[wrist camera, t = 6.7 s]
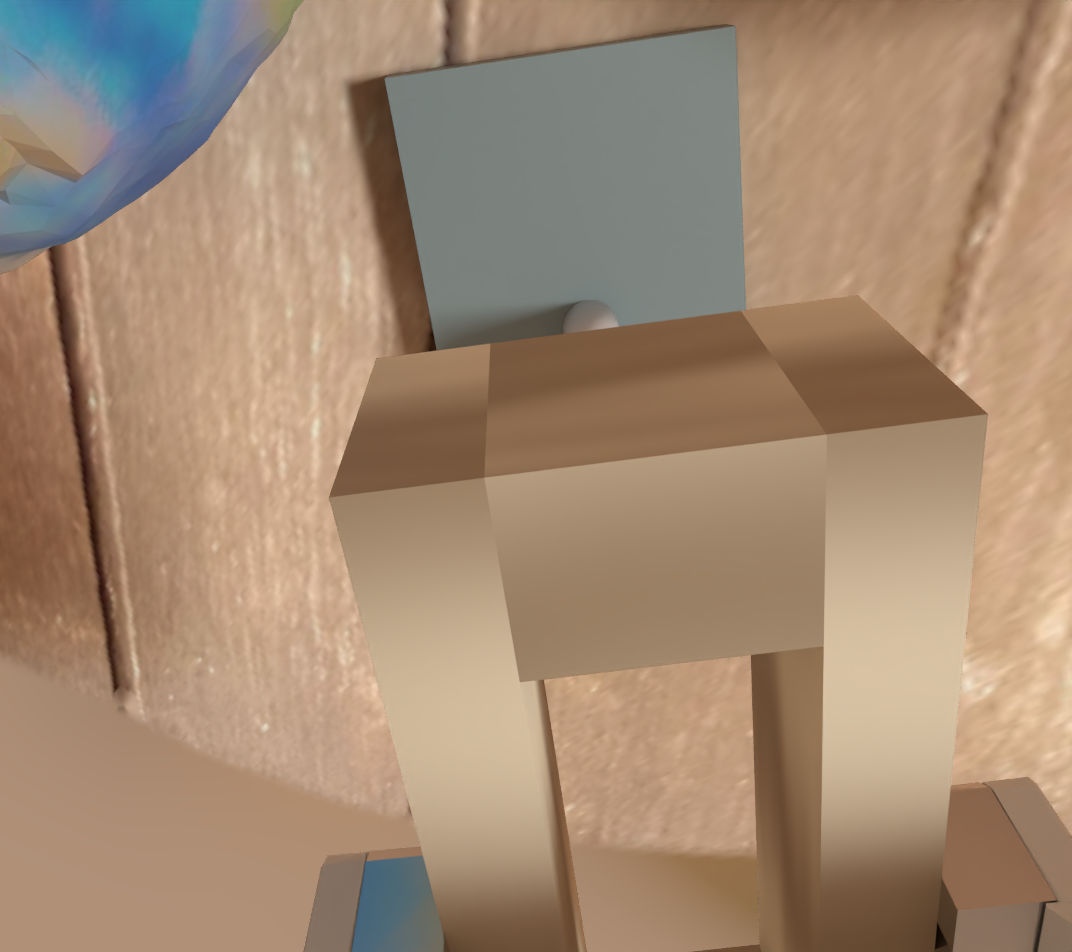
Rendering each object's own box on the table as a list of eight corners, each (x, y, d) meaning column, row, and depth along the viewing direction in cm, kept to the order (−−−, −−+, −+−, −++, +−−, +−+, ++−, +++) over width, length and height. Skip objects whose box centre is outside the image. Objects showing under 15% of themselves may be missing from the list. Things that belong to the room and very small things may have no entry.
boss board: (389, 74, 23) (364, 93, 19) (726, 24, 22) (774, 32, 18) (493, 623, 30) (491, 721, 26) (749, 591, 30) (787, 685, 26)
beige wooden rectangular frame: (376, 358, 10) (328, 498, 7) (858, 295, 10) (987, 414, 7) (527, 1050, 16) (532, 1272, 13) (837, 1018, 15) (905, 1235, 13)
